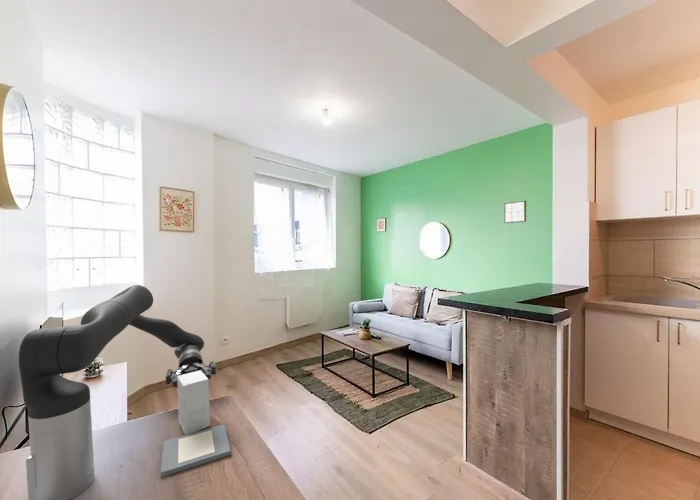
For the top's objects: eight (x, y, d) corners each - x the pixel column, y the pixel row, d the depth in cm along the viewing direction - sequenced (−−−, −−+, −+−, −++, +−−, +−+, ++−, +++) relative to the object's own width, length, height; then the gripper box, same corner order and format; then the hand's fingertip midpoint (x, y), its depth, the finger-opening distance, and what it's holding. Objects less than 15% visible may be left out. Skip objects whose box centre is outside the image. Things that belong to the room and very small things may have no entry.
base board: (160, 477, 67) (160, 472, 67) (163, 444, 78) (163, 440, 77) (230, 454, 74) (230, 450, 73) (224, 427, 84) (224, 423, 84)
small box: (211, 426, 85) (209, 378, 84) (185, 436, 81) (182, 386, 80) (202, 413, 91) (201, 369, 91) (178, 422, 87) (176, 375, 87)
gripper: (166, 356, 107) (164, 374, 92) (212, 348, 113) (217, 364, 99) (167, 377, 107) (165, 399, 93) (213, 368, 114) (217, 387, 99)
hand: (192, 381), depth 96 cm, fingers open, 8 cm apart
